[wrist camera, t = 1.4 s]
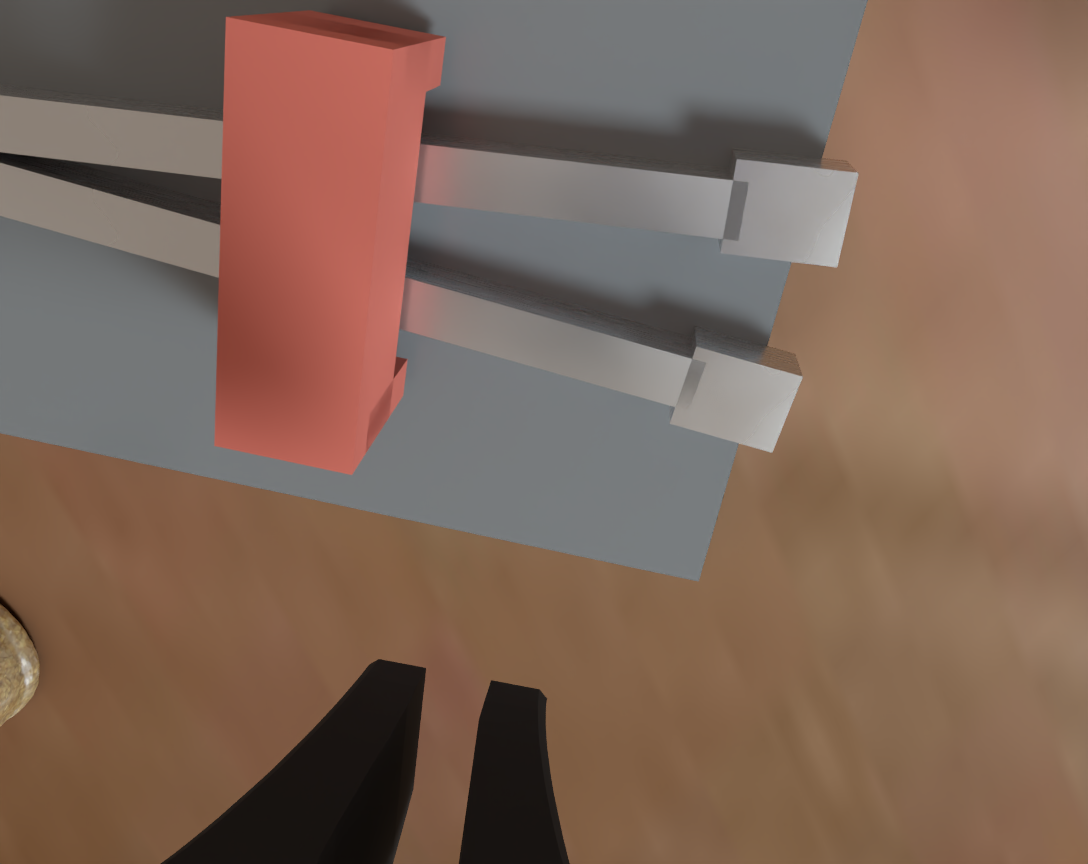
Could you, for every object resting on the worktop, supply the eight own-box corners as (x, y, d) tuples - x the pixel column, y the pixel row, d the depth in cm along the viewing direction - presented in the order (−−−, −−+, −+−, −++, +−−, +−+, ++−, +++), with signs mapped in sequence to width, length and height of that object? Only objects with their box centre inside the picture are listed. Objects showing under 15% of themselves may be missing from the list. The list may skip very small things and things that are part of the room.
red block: (446, 36, 17) (393, 50, 13) (403, 395, 20) (352, 475, 16) (309, 10, 17) (225, 16, 14) (287, 371, 20) (214, 445, 16)
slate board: (879, -86, 17) (893, -91, 15) (696, 552, 22) (698, 581, 21) (-242, -297, 17) (-304, -316, 16) (-143, 374, 23) (-183, 393, 22)
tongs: (853, 162, 17) (868, 176, 16) (772, 427, 19) (780, 458, 18) (-265, -58, 18) (-337, -62, 17) (-217, 223, 20) (-277, 239, 19)
